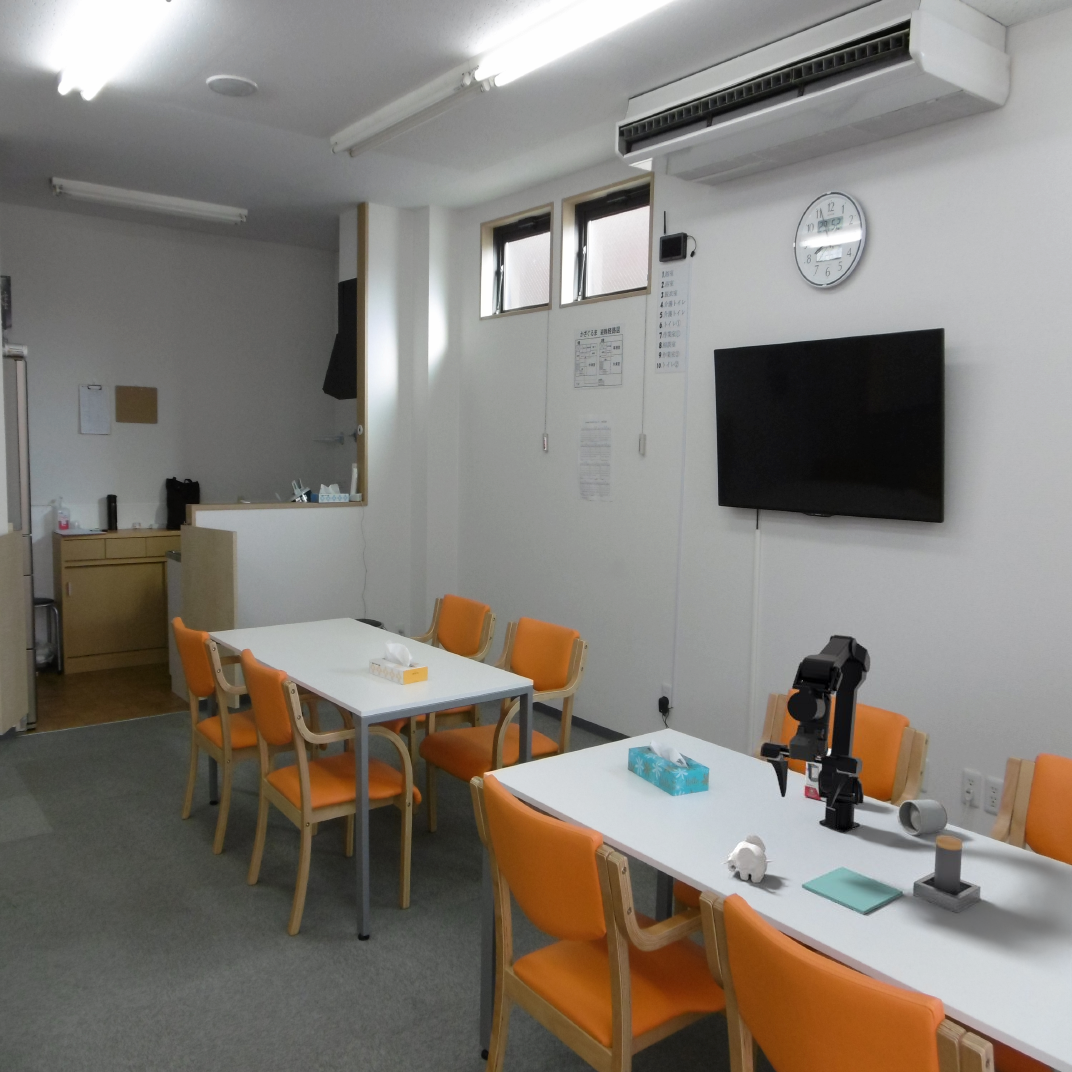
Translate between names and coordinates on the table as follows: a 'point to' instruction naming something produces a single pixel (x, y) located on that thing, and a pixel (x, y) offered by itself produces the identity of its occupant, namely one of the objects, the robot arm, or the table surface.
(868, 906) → the teal mat
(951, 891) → the grey orange domed cylinder
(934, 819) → the ceramic mug
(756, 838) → the elephant figurine
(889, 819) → the table surface
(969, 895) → the collar
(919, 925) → the table surface
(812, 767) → the ink box
